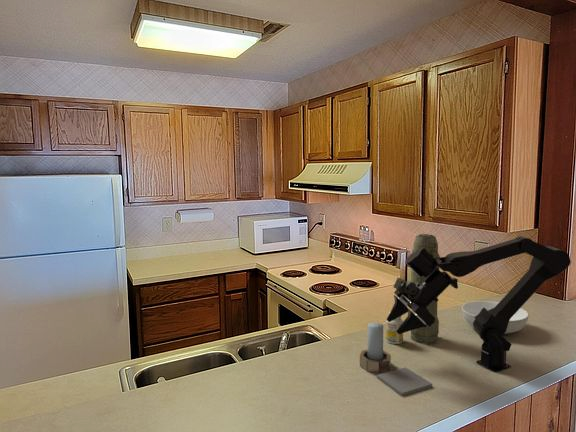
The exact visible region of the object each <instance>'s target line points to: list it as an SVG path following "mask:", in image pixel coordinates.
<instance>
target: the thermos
mask: <svg viewBox="0 0 576 432" xmlns="http://www.w3.org/2000/svg"><path fill="white" fill-rule="evenodd" d="M412 247H413V248H412V250H411V254H412V253H414V252H415V251H417V250H419V249H421V248H422V247H424V248H425V249H426V250H427V251H428V253H429V254H430V255H431V256H432V257H433V258H440V257H441V256H440V254H439V243H438V241H437V237H436V236H434V235H433V234H427V233H425V234H424V233H422V234H418V235H416V236H415V239H414V241H413V246H412ZM436 268H438V269H439V270H440V267H438V266H436ZM427 277H428V276H427ZM427 277H424V276H422V277H419V276H418V275H417V274H416V273H415V272H414V271H413V270H412V269H411V273H410V281H411V282H412V283H415V284H416V283H417V282H420V283H422V282H423V281H424V280H425V279H426V278H427ZM438 297H439V296H438ZM438 297H437V299H438ZM438 300H439V299H438ZM427 309H428V311H429V312H430V313H431V314H432V315H433V316H434V317H435V323H434V324H433V325H432V326H431V327H429V326H428V325H427V324H425V325H426V326H427V327H421V328H418V329H414V330H411V331H410V339H411V340H412V341H414V342H415V343H418V344H423V345H433V344H436V343H438V342H437V341H439V336H438V335H439V333H440V327H439V326H440V320H439V317H438V301H437V302H435V301H433V302H432V303H431V304H430V305H429V306H428V307H427ZM411 311H412V312H414V311H413V310H412V309H411Z"/></svg>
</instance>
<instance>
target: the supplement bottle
mask: <svg viewBox="0 0 576 432" xmlns="http://www.w3.org/2000/svg"><path fill="white" fill-rule="evenodd" d="M390 312H391V310H390V311H388V315H389V314H390ZM403 322H404V320H403V318H402V316H400V317H398V318H396V319H395V320H393V321H390V322H388V321H387V320H386V325H385V326H386V328H385V331H386V337H385V341H386V342H388V343H389V344H391V345H400V344H401V343H403V340H404V333H401V334H398V333H397V332H396V331H397V329H398V328H399V326H400V325H401V324H402V323H403Z"/></svg>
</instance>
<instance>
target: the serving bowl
mask: <svg viewBox="0 0 576 432" xmlns="http://www.w3.org/2000/svg"><path fill="white" fill-rule="evenodd" d="M499 302H500V301H492V300H490V301H489V300H476V301H467V302H466V303H464V304H462V305H461V313H462V315H463V318H464V319H465V321H466V322H467V323H468V324H469V325H470V326H472V327H473V322H474V320H475V318H474V317H475V316H477V315H478V314H479V313H480V311H481V310H482V309H483V308H485V309H487V310H490V309H492V308H494V307H496V305H497V304H498V303H499ZM528 320H529V313H528V311H526V310H525V309H524V308H522V307H521V308H520V309H519V310H518V311H517V312H516V313H515V314H514V315H513V316H512V318H511V319H510V320H509V323H508V327H507V330H506V332H505V334H512V333H515V332H518V331H521V330H522V329H523V328H524V327H526V325H527V323H528Z"/></svg>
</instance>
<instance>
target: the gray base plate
mask: <svg viewBox="0 0 576 432" xmlns="http://www.w3.org/2000/svg"><path fill="white" fill-rule="evenodd" d="M376 379H377V380H379V381H380V382H382V383H383V384H384V385H385V386H386V387H388V388H389V389H391V390H393V391H394V392H396V394H398V395H399V396H401V397H404V396H406V395H409V394H413V393H417V392H419V391H423V390H426V389H429V388H432V387H433V383H431V382H430V381H429V380H427V379H425V378H424V377H422V376H421V375H419V374H417V373H415V372H414V371H412V370H411V369H409V367H408V368H407V366H405V367H402V368H397V369H395V370H389V371H385V372H382V373H378V374H376Z"/></svg>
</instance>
